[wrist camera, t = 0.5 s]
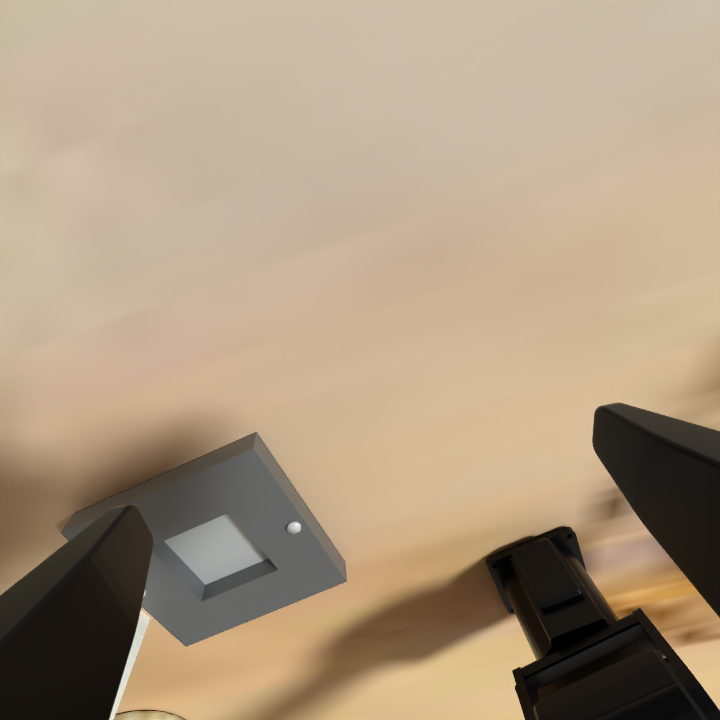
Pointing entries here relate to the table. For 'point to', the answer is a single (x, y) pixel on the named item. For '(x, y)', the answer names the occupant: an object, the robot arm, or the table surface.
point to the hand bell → (146, 716)
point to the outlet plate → (225, 541)
